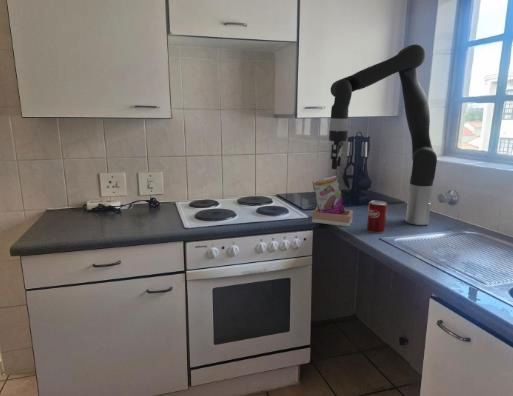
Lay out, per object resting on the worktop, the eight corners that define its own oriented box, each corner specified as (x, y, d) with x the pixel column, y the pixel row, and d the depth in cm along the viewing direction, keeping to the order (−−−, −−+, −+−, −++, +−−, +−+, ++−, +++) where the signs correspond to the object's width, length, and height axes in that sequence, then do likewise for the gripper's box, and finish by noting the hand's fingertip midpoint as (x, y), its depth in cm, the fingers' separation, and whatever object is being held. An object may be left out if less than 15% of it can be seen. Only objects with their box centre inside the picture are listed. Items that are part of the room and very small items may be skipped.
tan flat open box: (352, 220, 171) (352, 210, 170) (348, 226, 162) (349, 216, 161) (317, 216, 177) (317, 206, 176) (312, 221, 168) (312, 212, 167)
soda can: (372, 234, 153) (375, 205, 150) (363, 228, 160) (365, 200, 157) (388, 232, 155) (391, 204, 152) (378, 227, 162) (380, 200, 159)
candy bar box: (320, 218, 168) (312, 183, 164) (319, 214, 173) (311, 180, 169) (345, 213, 166) (338, 177, 162) (344, 209, 171) (336, 174, 167)
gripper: (332, 128, 168) (330, 164, 172) (326, 130, 155) (324, 169, 159) (349, 129, 165) (347, 166, 169) (344, 130, 153) (342, 170, 156)
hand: (336, 167), depth 164 cm, fingers open, 8 cm apart
